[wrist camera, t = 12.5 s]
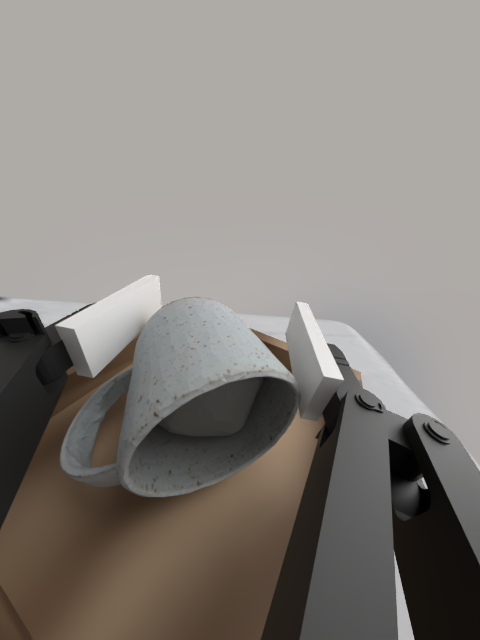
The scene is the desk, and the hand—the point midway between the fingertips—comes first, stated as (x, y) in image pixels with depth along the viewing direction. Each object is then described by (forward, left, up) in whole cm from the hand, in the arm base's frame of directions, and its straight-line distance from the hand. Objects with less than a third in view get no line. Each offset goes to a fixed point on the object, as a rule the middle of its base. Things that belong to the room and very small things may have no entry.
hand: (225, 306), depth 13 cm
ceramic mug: (+1, -5, -6) cm, 8 cm away
